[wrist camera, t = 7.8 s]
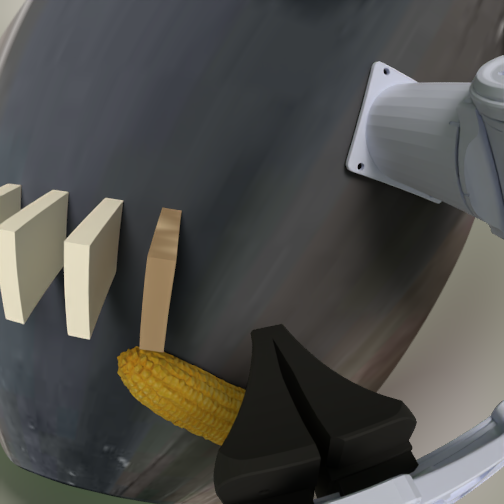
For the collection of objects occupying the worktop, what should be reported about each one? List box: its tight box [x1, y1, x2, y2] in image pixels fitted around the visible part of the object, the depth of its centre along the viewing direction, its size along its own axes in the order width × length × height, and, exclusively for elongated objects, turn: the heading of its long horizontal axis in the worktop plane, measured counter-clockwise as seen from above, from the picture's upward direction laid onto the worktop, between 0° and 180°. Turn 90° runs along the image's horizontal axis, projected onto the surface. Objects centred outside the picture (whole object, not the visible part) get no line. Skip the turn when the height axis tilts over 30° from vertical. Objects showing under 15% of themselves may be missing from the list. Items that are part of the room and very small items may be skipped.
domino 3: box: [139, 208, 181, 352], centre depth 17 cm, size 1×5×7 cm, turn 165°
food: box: [117, 346, 246, 446], centre depth 24 cm, size 21×6×6 cm, turn 47°
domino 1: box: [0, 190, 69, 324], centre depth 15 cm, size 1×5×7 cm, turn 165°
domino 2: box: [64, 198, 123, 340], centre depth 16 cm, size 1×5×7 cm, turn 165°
